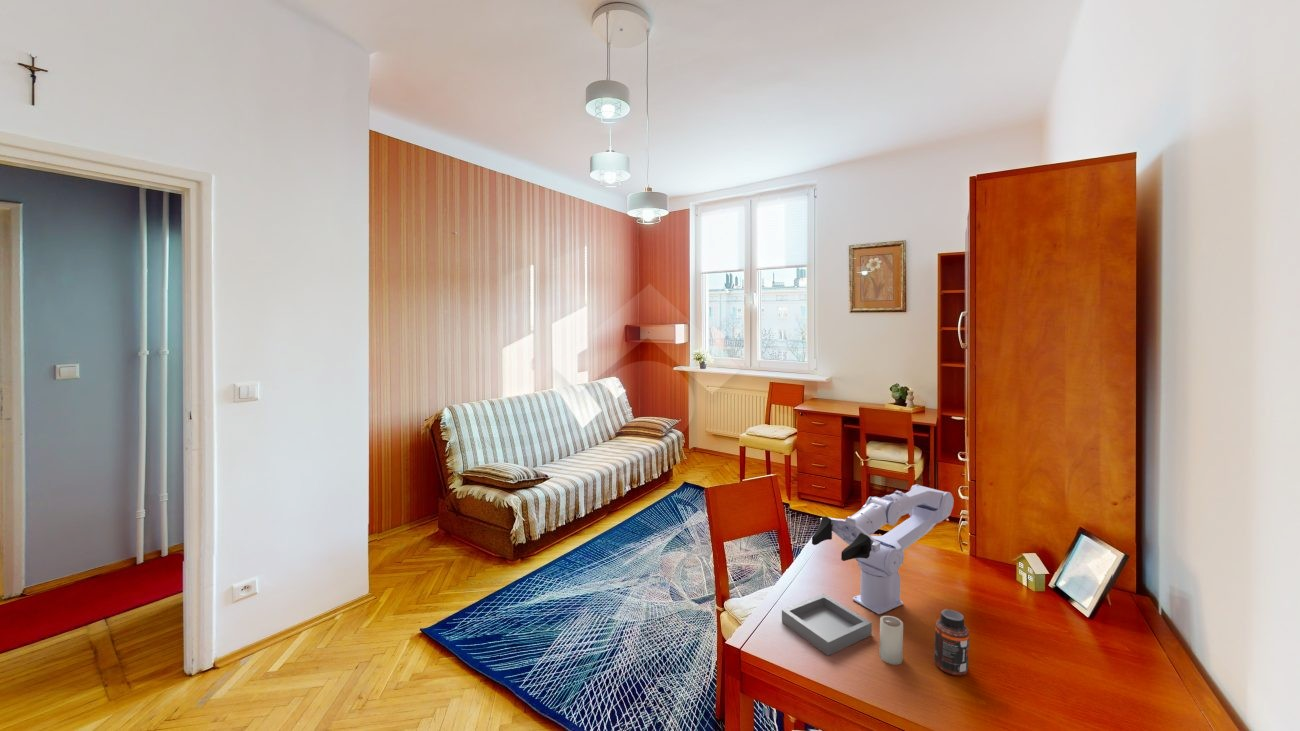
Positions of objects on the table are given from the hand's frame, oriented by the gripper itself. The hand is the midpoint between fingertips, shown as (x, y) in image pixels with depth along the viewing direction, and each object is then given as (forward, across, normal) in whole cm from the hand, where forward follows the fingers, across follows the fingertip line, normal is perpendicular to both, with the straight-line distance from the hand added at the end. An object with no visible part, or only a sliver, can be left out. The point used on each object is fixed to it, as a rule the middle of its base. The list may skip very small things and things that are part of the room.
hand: (827, 548), depth 112 cm
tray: (+2, +1, +20) cm, 20 cm away
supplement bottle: (-7, +24, +19) cm, 32 cm away
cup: (0, +16, +19) cm, 24 cm away
